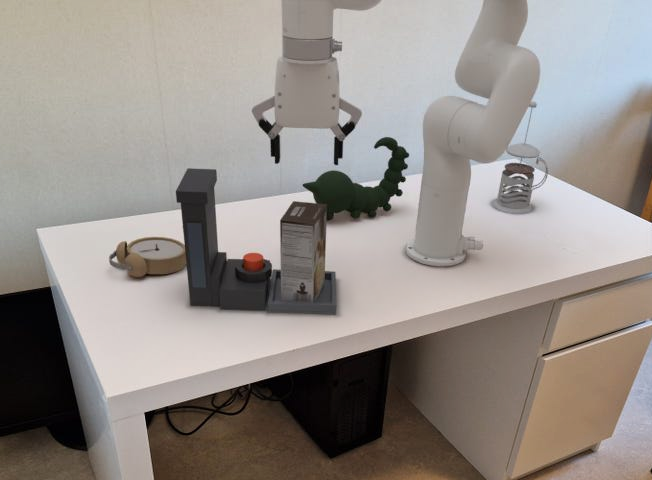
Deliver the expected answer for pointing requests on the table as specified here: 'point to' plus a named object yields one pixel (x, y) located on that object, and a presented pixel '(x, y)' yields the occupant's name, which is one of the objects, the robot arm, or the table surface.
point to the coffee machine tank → (201, 236)
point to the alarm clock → (150, 256)
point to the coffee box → (303, 251)
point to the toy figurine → (361, 187)
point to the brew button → (253, 261)
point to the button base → (244, 286)
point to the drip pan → (321, 306)
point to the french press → (518, 178)
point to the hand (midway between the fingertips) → (306, 161)
